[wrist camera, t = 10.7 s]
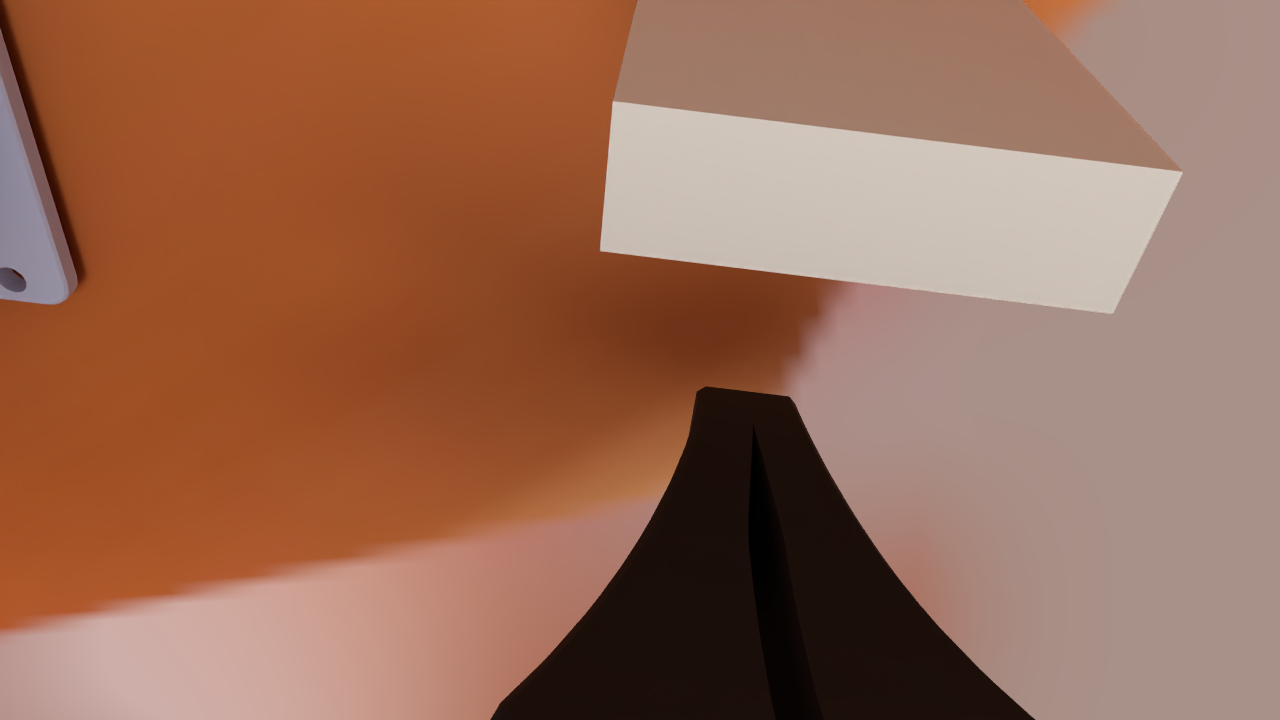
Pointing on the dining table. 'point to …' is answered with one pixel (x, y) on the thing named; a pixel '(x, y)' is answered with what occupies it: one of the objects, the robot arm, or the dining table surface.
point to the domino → (879, 149)
